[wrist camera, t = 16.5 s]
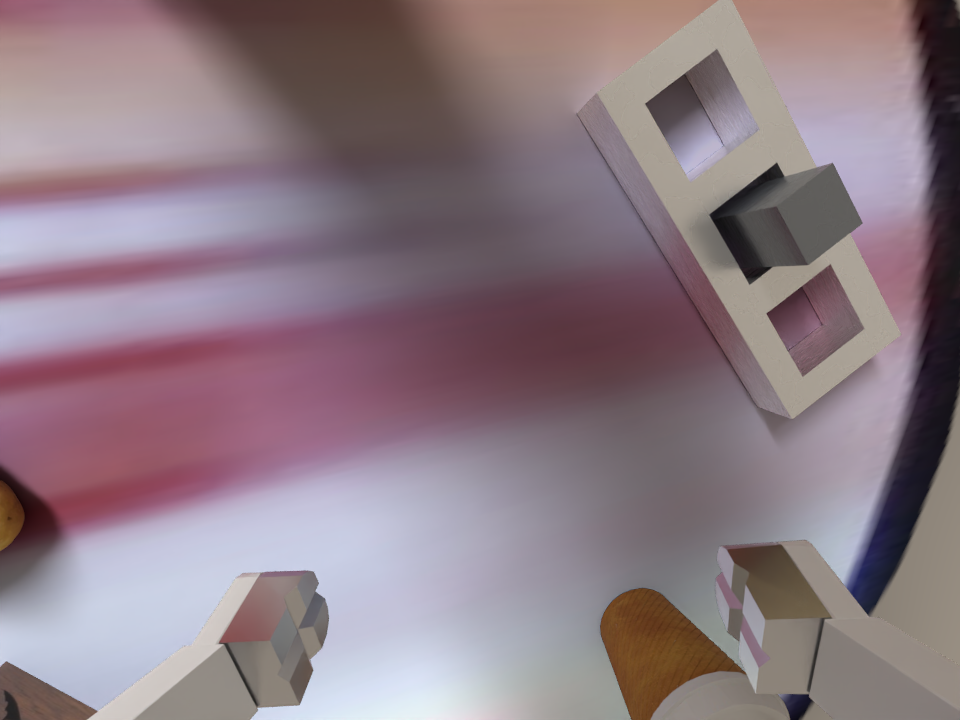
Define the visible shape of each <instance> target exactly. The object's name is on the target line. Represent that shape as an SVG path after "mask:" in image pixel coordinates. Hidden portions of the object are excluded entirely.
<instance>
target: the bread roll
mask: <svg viewBox="0 0 960 720" xmlns="http://www.w3.org/2000/svg"><path fill="white" fill-rule="evenodd" d="M24 518H25V516H24V511H23V508H22V506H21V504H20V502H19V500H18V499H17V497H16V495H15V493H14V492H13V491H12V489H11V488H10V487H9V486H8V485H7V484H6V483H5V482H3V481H1V480H0V551H1V550H2V549H4V548H6V547H7V546H8V545H9V544H11V543H12V542H13V540H14V539H15V537H16V536H17V535H18V533H19V532H20V531H21V528H22V526H23V523H24Z"/></svg>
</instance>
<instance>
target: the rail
mask: <svg viewBox="0 0 960 720" xmlns="http://www.w3.org/2000/svg"><path fill="white" fill-rule="evenodd" d="M683 74H685V75H686V77H687V78H688V80H689V82H690V84H691V86H692V88H693V89H694V91H695V93H696V95H697V97H698V98H699V100H700V102H701V104H702V106H703V108H704V109H705V111H706V113H707V115H708V117H709V119H710V120H711V122H712V124H713V126H714V128H715V129H716V131H717V133H718V135H719V137H720V139H721V140H722V142H723V144H724V146H722V147H721V148H720V149H719V150H717V151H716V152H715V153H713V154H712V155H711V156H709V157H708V158H707V159H705V160H704V161H703V162H702V163H700V164H699V165H698V166H696V167H695V168H694V169H692V170H691V171H690V172H688V173H687V174H685V172H684V171H683V169H682V167H681V165H680V164H679V162H678V160H677V158H676V157H675V155H674V153H673V152H672V150H671V148H670V146H669V145H668V143H667V141H666V139H665V138H664V136H663V134H662V132H661V131H660V129H659V127H658V126H657V124H656V122H655V120H654V119H653V117H652V115H651V113H650V112H649V110H648V108H647V106H646V105H645V103H646V102H648V101H649V100H650V99H652V98H653V97H654V96H656V95H657V94H658V93H660V92H661V91H662V90H664V89H665V88H666V87H668V86H669V85H670V84H671V83H673V82H674V81H675V80H677V79H678V78H679V77H681V76H682V75H683ZM577 115H578V116H579V118H580V119H581V121H582V123H583V124H584V126H585V128H586V129H587V131H588V132H589V134H590V136H591V137H592V139H593V141H594V142H595V144H596V145H597V147H598V149H599V150H600V152H601V154H602V155H603V157H604V158H605V160H606V162H607V163H608V165H609V167H610V168H611V170H612V171H613V173H614V175H615V176H616V178H617V180H618V181H619V183H620V184H621V186H622V188H623V189H624V191H625V193H626V194H627V196H628V197H629V199H630V201H631V202H632V204H633V206H634V207H635V209H636V210H637V212H638V214H639V215H640V217H641V219H642V220H643V222H644V223H645V225H646V227H647V228H648V230H649V232H650V233H651V235H652V236H653V238H654V240H655V241H656V243H657V245H658V246H659V248H660V249H661V251H662V253H663V254H664V256H665V258H666V259H667V261H668V262H669V264H670V266H671V267H672V269H673V271H674V272H675V274H676V275H677V277H678V279H679V280H680V282H681V284H682V285H683V287H684V288H685V290H686V292H687V293H688V295H689V297H690V298H691V300H692V301H693V303H694V305H695V306H696V308H697V310H698V311H699V313H700V314H701V316H702V318H703V319H704V321H705V323H706V324H707V326H708V327H709V329H710V331H711V332H712V334H713V336H714V337H715V339H716V340H717V342H718V344H719V345H720V347H721V349H722V350H723V352H724V353H725V355H726V357H727V358H728V360H729V362H730V363H731V365H732V366H733V368H734V370H735V371H736V373H737V375H738V376H739V378H740V379H741V381H742V383H743V384H744V386H745V388H746V389H747V391H748V392H749V394H750V396H751V397H752V399H753V401H754V402H755V404H756V405H757V407H759V408H762V409H765V410H768V411H770V412H773V413H776V414H779V415H782V416H784V417H787V418H790V419H793V418H795V417H796V416H797V415H799V414H800V413H801V412H802V411H804V410H805V409H806V408H808V407H809V406H810V405H811V404H813V403H814V402H815V401H817V400H818V399H819V398H820V397H822V396H823V395H824V394H826V393H827V392H828V391H829V390H831V389H832V388H833V387H835V386H836V385H837V384H838V383H840V382H841V381H842V380H844V379H845V378H846V377H847V376H849V375H850V374H851V373H853V372H854V371H855V370H856V369H858V368H859V367H860V366H862V365H863V364H864V363H865V362H867V361H868V360H869V359H871V358H872V357H873V356H874V355H876V354H877V353H878V352H880V351H881V350H882V349H883V348H885V347H886V346H887V345H889V344H890V343H891V342H892V341H894V340H895V339H896V338H898V337H899V336H900V335H901V333H900V331H899V329H898V327H897V325H896V323H895V321H894V319H893V317H892V315H891V313H890V311H889V309H888V307H887V305H886V303H885V301H884V299H883V297H882V295H881V293H880V292H879V290H878V288H877V286H876V284H875V282H874V280H873V278H872V276H871V274H870V272H869V270H868V268H867V266H866V264H865V262H864V260H863V258H862V256H861V254H860V252H859V250H858V248H857V246H856V244H855V242H854V240H853V238H852V236H851V234H850V233H849V234H848V235H847V236H846V237H844V238H843V239H842V240H840V241H839V242H838V243H836V244H835V245H834V246H833V247H831V248H830V249H829V250H827V251H826V252H825V253H824V254H822V255H821V256H820V257H818V258H817V259H816V260H814V261H813V262H812V263H811V264H809V265H803V266H779V267H755V268H739V266H738V264H737V262H736V261H735V259H734V257H733V255H732V254H731V252H730V250H729V248H728V247H727V245H726V243H725V242H724V240H723V238H722V236H721V235H720V233H719V231H718V229H717V228H716V226H715V224H714V222H713V221H712V219H711V217H710V216H709V214H710V213H712V212H713V211H714V210H716V209H717V208H718V207H720V206H721V205H722V204H723V203H725V202H726V201H727V200H729V199H730V198H731V197H733V196H734V195H735V194H736V193H738V192H739V191H740V190H742V189H743V188H744V187H746V186H747V187H749V186H753V185H756V184H760V183H764V182H767V181H771V180H774V179H778V178H781V177H785V176H788V175H792V174H795V173H799V172H803V171H806V170H810V169H813V168H817V167H816V165H815V163H814V161H813V159H812V157H811V155H810V153H809V151H808V149H807V147H806V145H805V143H804V141H803V140H802V138H801V136H800V134H799V132H798V130H797V128H796V126H795V124H794V122H793V120H792V118H791V116H790V114H789V112H788V110H787V108H786V106H785V104H784V102H783V100H782V98H781V96H780V94H779V92H778V90H777V88H776V86H775V84H774V82H773V80H772V78H771V76H770V74H769V72H768V70H767V68H766V66H765V64H764V63H763V61H762V59H761V57H760V55H759V53H758V51H757V49H756V47H755V45H754V43H753V41H752V39H751V37H750V35H749V33H748V31H747V29H746V27H745V25H744V23H743V21H742V19H741V17H740V15H739V13H738V11H737V9H736V7H735V5H734V3H733V1H732V0H719V1H717V2H716V3H715V4H713V5H712V6H711V7H709V8H708V9H707V10H705V11H704V12H703V13H701V14H700V15H699V16H697V17H696V18H695V19H693V20H692V21H691V22H690V23H688V24H687V25H686V26H684V27H683V28H682V29H680V30H679V31H678V32H676V33H675V34H674V35H672V36H671V37H670V38H668V39H667V40H666V41H664V42H663V43H662V44H661V45H659V46H658V47H657V48H655V49H654V50H653V51H651V52H650V53H649V54H647V55H646V56H645V57H643V58H642V59H641V60H639V61H638V62H637V63H635V64H634V65H633V66H632V67H630V68H629V69H628V70H626V71H625V72H624V73H622V74H621V75H620V76H618V77H617V78H616V79H614V80H613V81H612V82H610V83H609V84H608V85H606V86H605V87H604V88H603V89H601V90H600V91H599V92H597V93H596V94H595V95H594V96H593V97H592V98H591V99H590V100H589V101H588V102H587V103H586V104H585V105H584V106H583V107H582V108H581V109H580V110H579V111H578V113H577ZM801 286H802V288H803V290H804V292H805V293H806V295H807V297H808V299H809V301H810V303H811V304H812V306H813V308H814V310H815V312H816V313H817V315H818V317H819V319H820V321H821V323H822V324H823V325H821V326H820V327H819V328H818V329H816V330H815V331H814V332H812V333H811V334H810V335H808V336H807V337H806V338H805V339H803V340H802V341H801V342H799V343H798V344H797V345H796V346H794V347H793V348H792V349H790V350H789V351H787V349H786V347H785V345H784V344H783V342H782V340H781V339H780V337H779V335H778V333H777V332H776V330H775V328H774V326H773V325H772V323H771V321H770V319H769V318H768V316H767V314H766V313H768V312H769V311H770V310H772V309H773V308H774V307H776V306H777V305H778V304H779V303H781V302H782V301H783V300H785V299H786V298H787V297H788V296H790V295H791V294H792V293H794V292H795V291H796V290H798V289H799V288H800V287H801Z"/></svg>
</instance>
